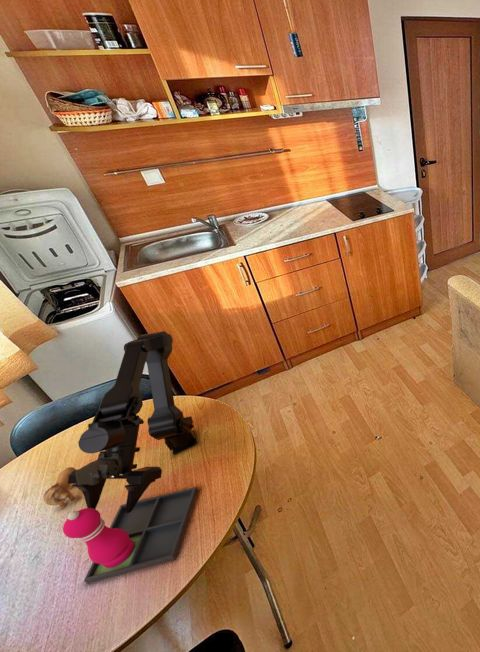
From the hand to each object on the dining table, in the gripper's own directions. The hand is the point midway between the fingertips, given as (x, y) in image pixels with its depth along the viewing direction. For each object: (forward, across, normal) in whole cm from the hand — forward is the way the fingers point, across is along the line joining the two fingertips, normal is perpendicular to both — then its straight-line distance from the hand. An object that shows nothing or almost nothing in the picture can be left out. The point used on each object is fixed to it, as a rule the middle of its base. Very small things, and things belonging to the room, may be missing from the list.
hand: (109, 512), depth 90 cm
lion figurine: (+1, -26, +16) cm, 31 cm away
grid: (+8, +3, +9) cm, 12 cm away
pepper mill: (+11, 0, +5) cm, 12 cm away
